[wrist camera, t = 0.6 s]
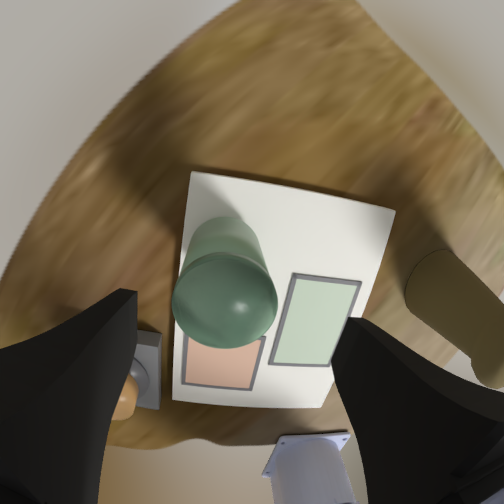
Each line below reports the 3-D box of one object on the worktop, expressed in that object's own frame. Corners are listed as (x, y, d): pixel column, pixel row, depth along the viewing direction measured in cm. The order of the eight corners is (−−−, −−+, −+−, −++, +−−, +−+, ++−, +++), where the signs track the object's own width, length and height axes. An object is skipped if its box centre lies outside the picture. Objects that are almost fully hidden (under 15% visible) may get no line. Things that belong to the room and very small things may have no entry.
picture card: (319, 402, 25) (320, 408, 24) (173, 394, 23) (172, 400, 22) (391, 209, 19) (396, 211, 18) (192, 170, 17) (190, 172, 16)
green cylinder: (252, 280, 19) (266, 353, 13) (186, 271, 18) (169, 342, 12) (264, 217, 18) (288, 265, 11) (194, 206, 17) (175, 250, 11)
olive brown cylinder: (461, 240, 20) (559, 304, 10) (458, 301, 22) (534, 373, 12) (403, 263, 20) (501, 352, 10) (405, 326, 23) (476, 418, 12)
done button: (140, 407, 20) (136, 425, 18) (88, 396, 19) (81, 412, 18) (137, 368, 18) (131, 386, 17) (79, 355, 18) (70, 372, 16)
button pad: (161, 396, 23) (158, 412, 21) (86, 380, 22) (79, 395, 20) (161, 333, 21) (157, 350, 19) (74, 317, 20) (64, 331, 18)
